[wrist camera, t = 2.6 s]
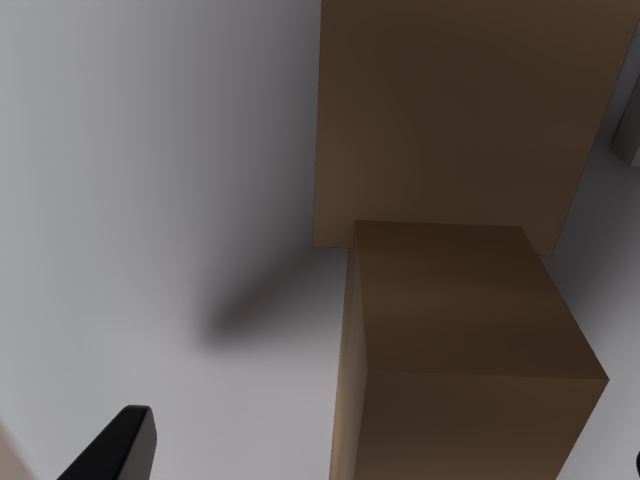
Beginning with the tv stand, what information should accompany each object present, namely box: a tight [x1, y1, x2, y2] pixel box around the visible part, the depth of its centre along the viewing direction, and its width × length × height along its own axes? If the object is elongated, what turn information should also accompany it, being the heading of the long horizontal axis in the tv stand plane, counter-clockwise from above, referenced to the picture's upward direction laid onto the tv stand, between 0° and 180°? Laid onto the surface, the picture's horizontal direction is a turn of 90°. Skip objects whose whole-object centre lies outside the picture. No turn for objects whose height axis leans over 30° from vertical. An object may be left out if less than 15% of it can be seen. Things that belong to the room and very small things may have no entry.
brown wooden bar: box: [313, 0, 640, 480], centre depth 9 cm, size 18×4×4 cm, turn 178°
